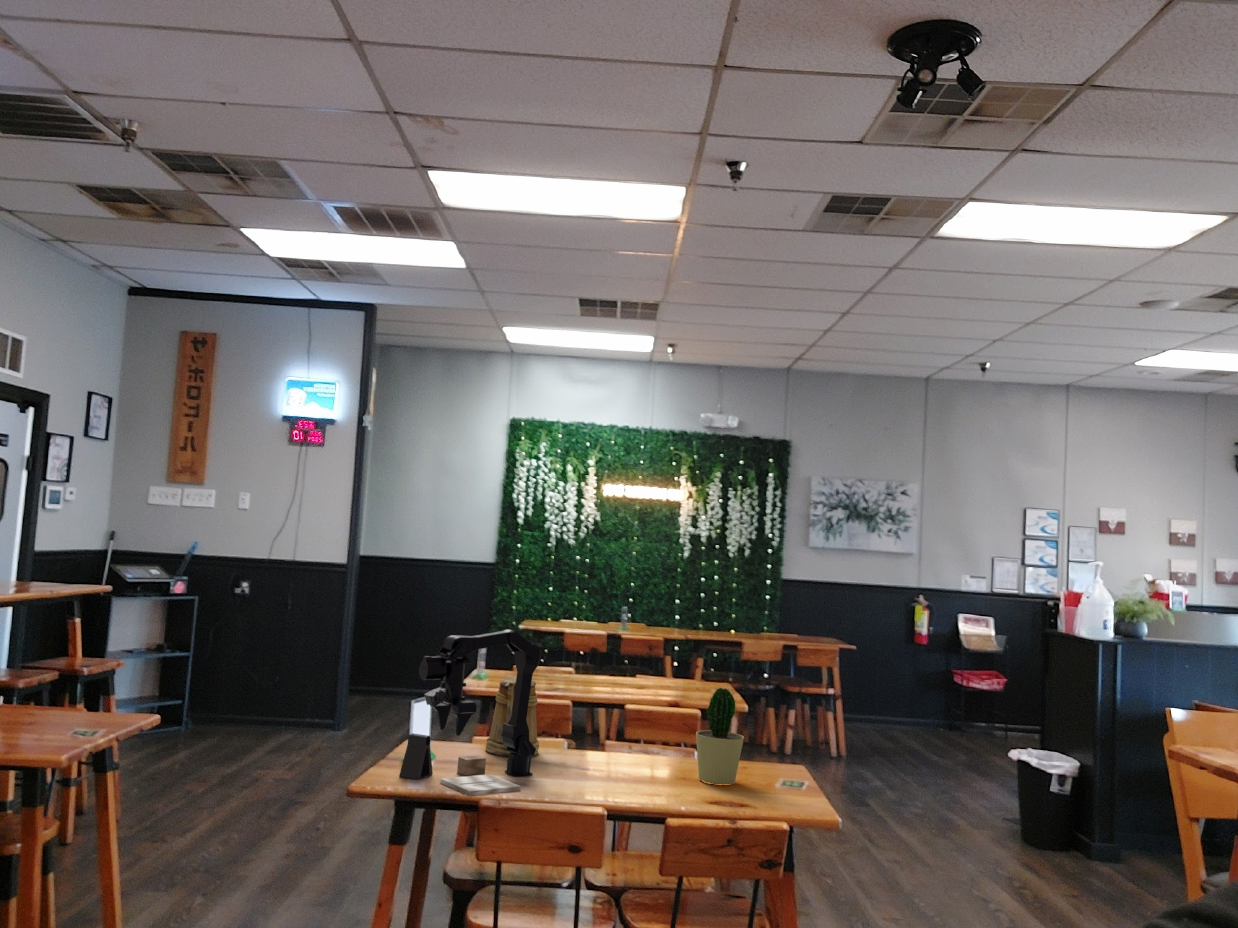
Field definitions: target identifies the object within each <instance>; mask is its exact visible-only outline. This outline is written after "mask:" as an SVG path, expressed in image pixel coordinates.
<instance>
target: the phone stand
mask: <svg viewBox="0 0 1238 928" xmlns="http://www.w3.org/2000/svg"><path fill="white" fill-rule="evenodd" d="M431 741H432V739H431V736H430V735H426V734H424V735H423V734H419V733H412V732H411V733H409V735H408V737H407V745H406V749H405V752H404V753H405V754H404V757H403V760H402V764H401V768H400V771H399V775H398V777H399V778H402V779H407V780H408V779H409V780H415V781H419V780H422V779H425V778H428V777H431V776H433V775H434V773H433V764H432V752H431Z"/></svg>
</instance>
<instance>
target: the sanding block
mask: <svg viewBox="0 0 1238 928" xmlns="http://www.w3.org/2000/svg"><path fill="white" fill-rule="evenodd" d="M486 763H487V758H486V757H483V756H482V755H466V756H458V759H457V770H456V771H457V773H456V774H457V775H460V776H461V777H465V776H476V775H486V765H487V764H486Z"/></svg>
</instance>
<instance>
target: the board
mask: <svg viewBox="0 0 1238 928" xmlns="http://www.w3.org/2000/svg"><path fill="white" fill-rule="evenodd" d="M440 784H442V785H445V786H447V787H448V788H452V790H453V789H454V790H456V791H457V792H460V793H462V794H465V795H466V796H469V797H470V796H480V795H488V794H489V795H490V794H499V793H508V792H517V791H518V792H519V791H521V787H522V786H521V785H518V784H516V783H514V782H511V781H508V780H507V779H504V778H501V777H499V776H497V775H494V774H492V773H489V774H485V775H476V776H458V777H457V776H455V777H453V776H452V777H444V778H440Z"/></svg>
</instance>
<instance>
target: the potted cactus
mask: <svg viewBox="0 0 1238 928" xmlns="http://www.w3.org/2000/svg"><path fill="white" fill-rule="evenodd" d="M710 693H711V695H712V696H709V698H710V701H707V703H709V705H708V706H707V710H706V715H707V717H708V718H709V724H708V723H707V724H708V725H709V729H706V730H705V729H704V730H703V729H702V730H698V731H696V732H695V735H696V739H695V740H696V752H697V753H696V754H697V768H698V779H701V780H704V781H705V782H710V783H713V784H734V785H735V782H736V777H737V774H738V768H739V764H740V758H741V753H742V749H743V745H744V739H745V736H743V735H742V734H740V733H737V732H731V731H730V728H731V726H733V724H732V722H731V721H732V720H733V719H734V717H735V716H736V715H737V713H736V711H738V710H737V709H738V708H737V706H736V701H737V699H735V695H734V693H732V691H731V690H730V689H728V688H723V687H716V690H714V692H710Z"/></svg>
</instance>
